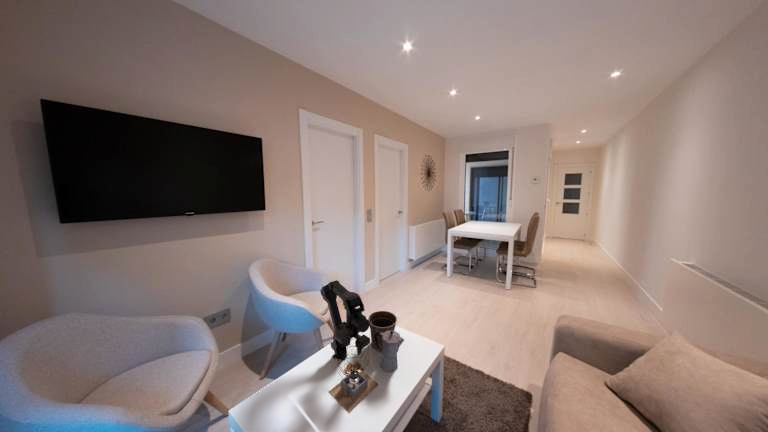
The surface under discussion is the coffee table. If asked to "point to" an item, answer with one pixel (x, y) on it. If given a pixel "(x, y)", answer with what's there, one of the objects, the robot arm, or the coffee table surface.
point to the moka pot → (389, 349)
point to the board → (346, 400)
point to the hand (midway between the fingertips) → (352, 350)
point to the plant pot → (381, 326)
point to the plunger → (354, 380)
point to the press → (356, 392)
